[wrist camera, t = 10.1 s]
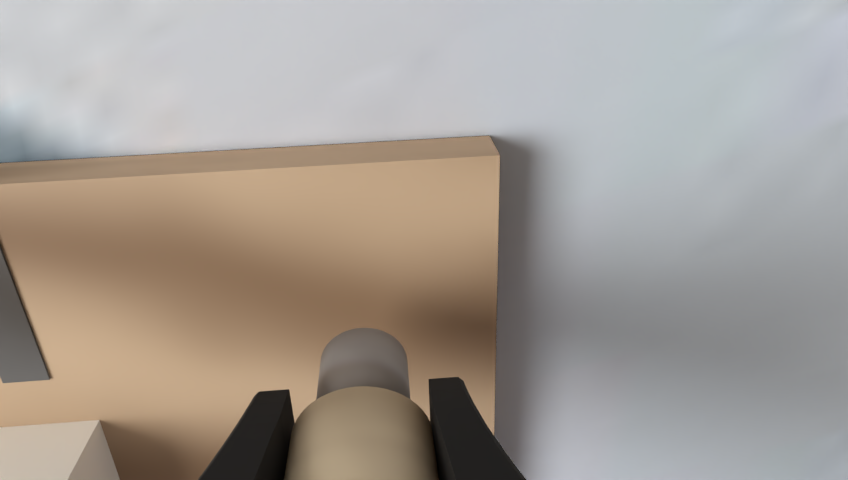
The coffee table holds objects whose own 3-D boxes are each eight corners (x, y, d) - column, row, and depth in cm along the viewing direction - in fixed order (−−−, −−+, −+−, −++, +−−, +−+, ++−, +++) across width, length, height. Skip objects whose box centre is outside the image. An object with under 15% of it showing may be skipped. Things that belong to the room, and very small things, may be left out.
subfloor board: (483, 620, 26) (489, 661, 24) (-10, 666, 25) (-33, 711, 23) (489, 135, 16) (500, 156, 15) (-292, 179, 16) (-358, 205, 14)
